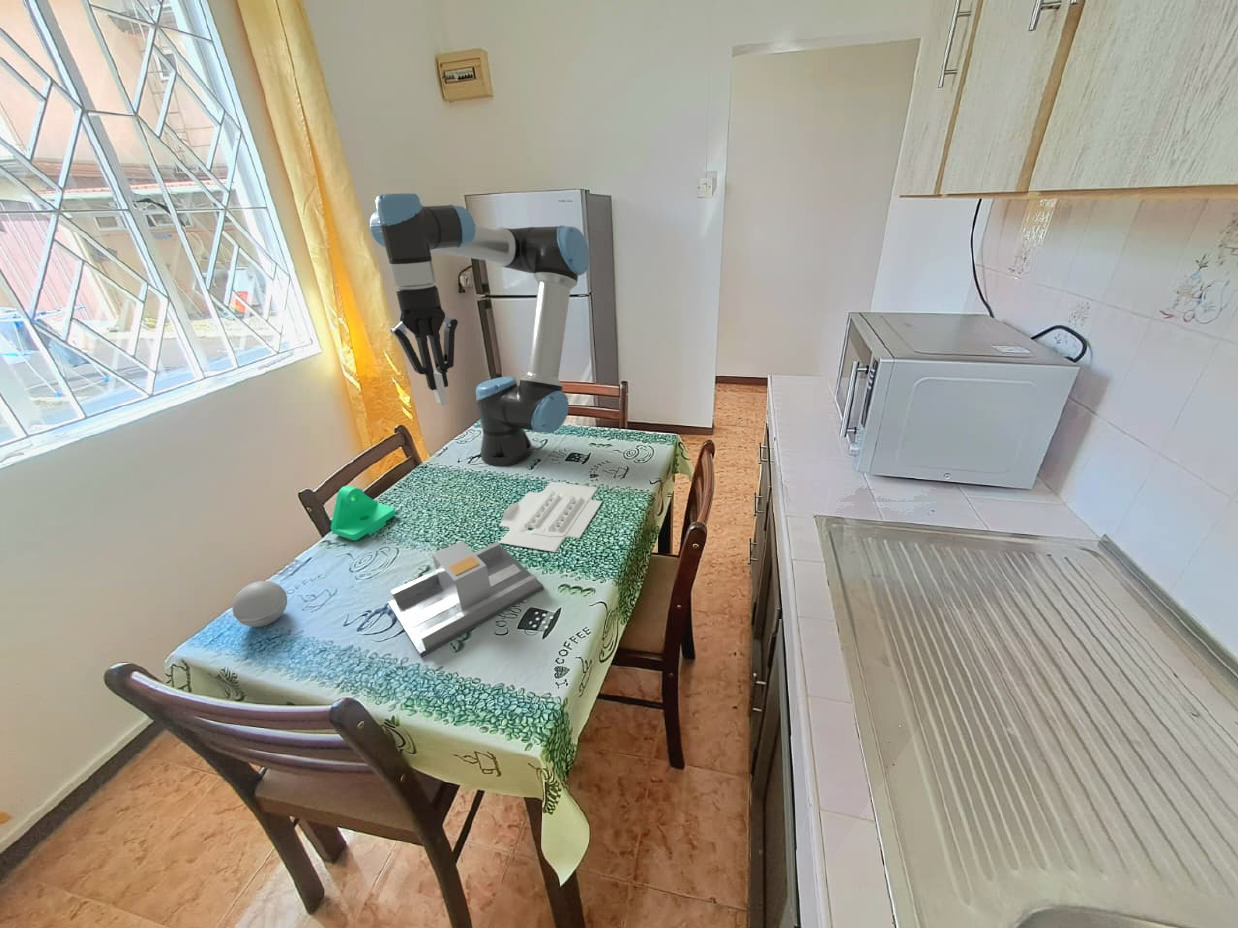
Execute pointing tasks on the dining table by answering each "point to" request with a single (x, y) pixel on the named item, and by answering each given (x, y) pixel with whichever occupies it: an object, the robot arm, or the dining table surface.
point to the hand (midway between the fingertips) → (442, 402)
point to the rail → (437, 616)
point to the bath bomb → (259, 603)
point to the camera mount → (358, 514)
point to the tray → (550, 516)
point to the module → (462, 575)
